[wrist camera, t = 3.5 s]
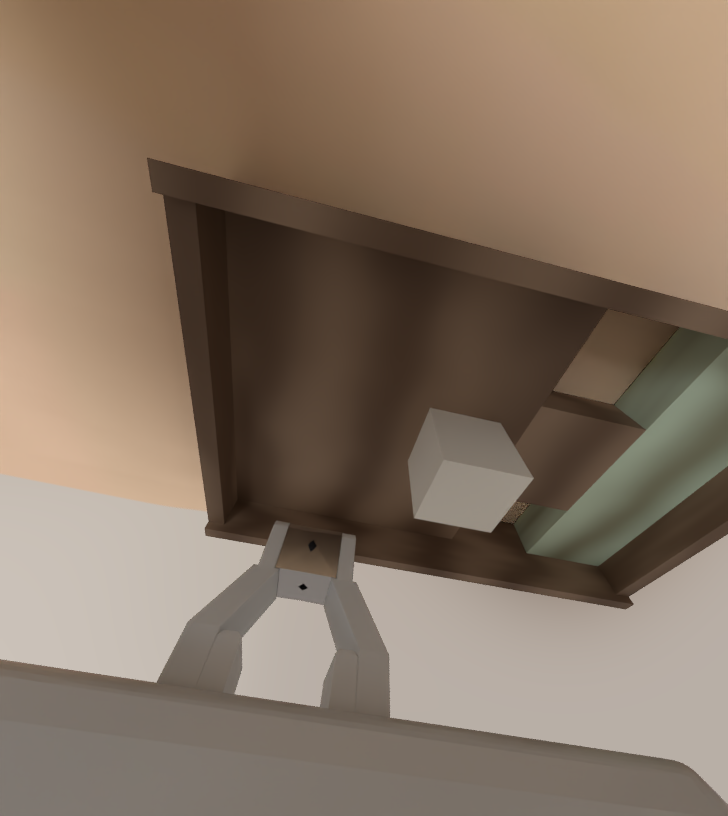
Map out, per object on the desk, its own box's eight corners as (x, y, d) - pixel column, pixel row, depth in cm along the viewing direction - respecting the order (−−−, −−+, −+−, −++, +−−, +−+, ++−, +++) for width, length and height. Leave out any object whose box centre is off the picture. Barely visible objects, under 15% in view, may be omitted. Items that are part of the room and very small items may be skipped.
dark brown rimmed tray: (238, 478, 23) (205, 535, 18) (227, 181, 12) (146, 157, 8) (584, 544, 25) (625, 609, 20) (820, 337, 14) (1000, 383, 10)
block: (407, 461, 17) (413, 518, 14) (430, 407, 15) (443, 459, 12) (469, 473, 17) (490, 532, 14) (500, 423, 15) (533, 478, 12)
